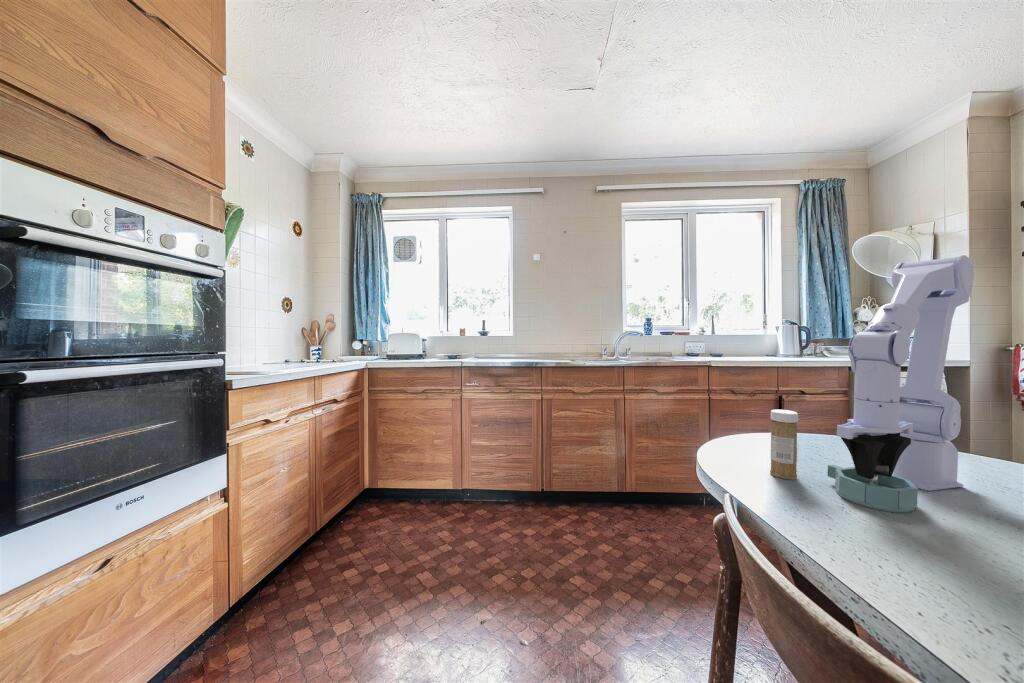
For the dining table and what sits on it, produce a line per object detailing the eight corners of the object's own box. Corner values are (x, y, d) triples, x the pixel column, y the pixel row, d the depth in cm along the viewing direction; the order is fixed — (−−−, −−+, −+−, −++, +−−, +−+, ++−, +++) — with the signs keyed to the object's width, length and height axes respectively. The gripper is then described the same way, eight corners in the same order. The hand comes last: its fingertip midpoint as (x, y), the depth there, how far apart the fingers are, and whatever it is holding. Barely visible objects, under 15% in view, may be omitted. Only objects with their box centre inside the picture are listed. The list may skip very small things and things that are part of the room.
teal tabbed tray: (850, 480, 74) (850, 461, 74) (931, 509, 62) (932, 487, 62) (809, 484, 72) (810, 465, 72) (885, 515, 60) (885, 492, 60)
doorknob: (866, 482, 70) (866, 454, 70) (914, 499, 63) (915, 468, 63) (835, 485, 68) (836, 457, 68) (881, 503, 61) (882, 472, 61)
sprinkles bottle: (800, 477, 76) (802, 411, 75) (791, 482, 73) (792, 414, 73) (775, 470, 79) (776, 407, 79) (765, 474, 77) (766, 410, 76)
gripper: (881, 394, 71) (879, 464, 71) (819, 397, 68) (818, 470, 68) (929, 401, 64) (926, 479, 64) (863, 404, 61) (861, 486, 61)
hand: (874, 475), depth 66 cm, fingers closed on doorknob, 4 cm apart
